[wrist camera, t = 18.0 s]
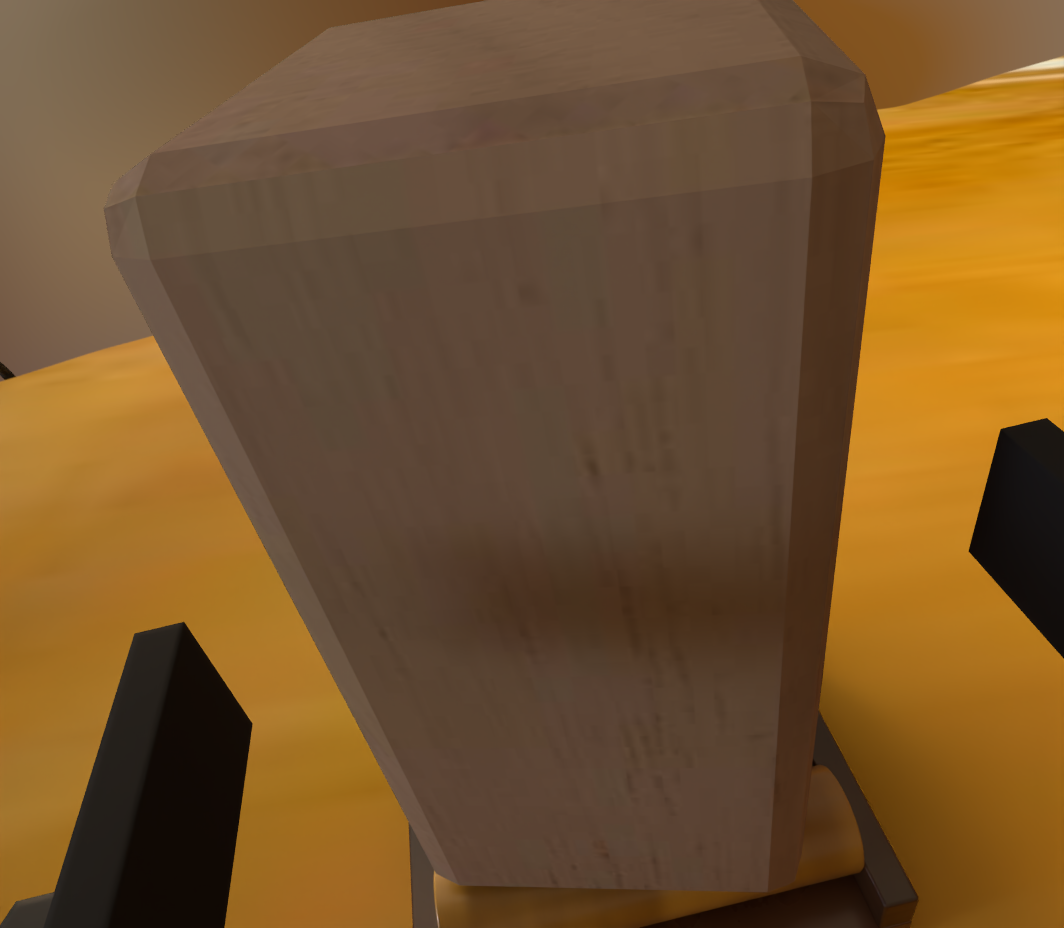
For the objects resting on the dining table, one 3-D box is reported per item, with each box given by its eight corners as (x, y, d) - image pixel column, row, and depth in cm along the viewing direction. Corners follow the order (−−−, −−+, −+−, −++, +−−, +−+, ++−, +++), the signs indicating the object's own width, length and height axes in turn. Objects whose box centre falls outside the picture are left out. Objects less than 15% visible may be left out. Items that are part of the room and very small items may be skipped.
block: (754, 608, 28) (772, -57, 15) (806, 910, 20) (923, 62, 8) (481, 618, 29) (299, 26, 17) (432, 900, 22) (36, 191, 9)
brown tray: (418, 703, 32) (391, 641, 29) (750, 623, 32) (751, 555, 30) (437, 1054, 22) (400, 1007, 20) (908, 936, 23) (929, 874, 20)
